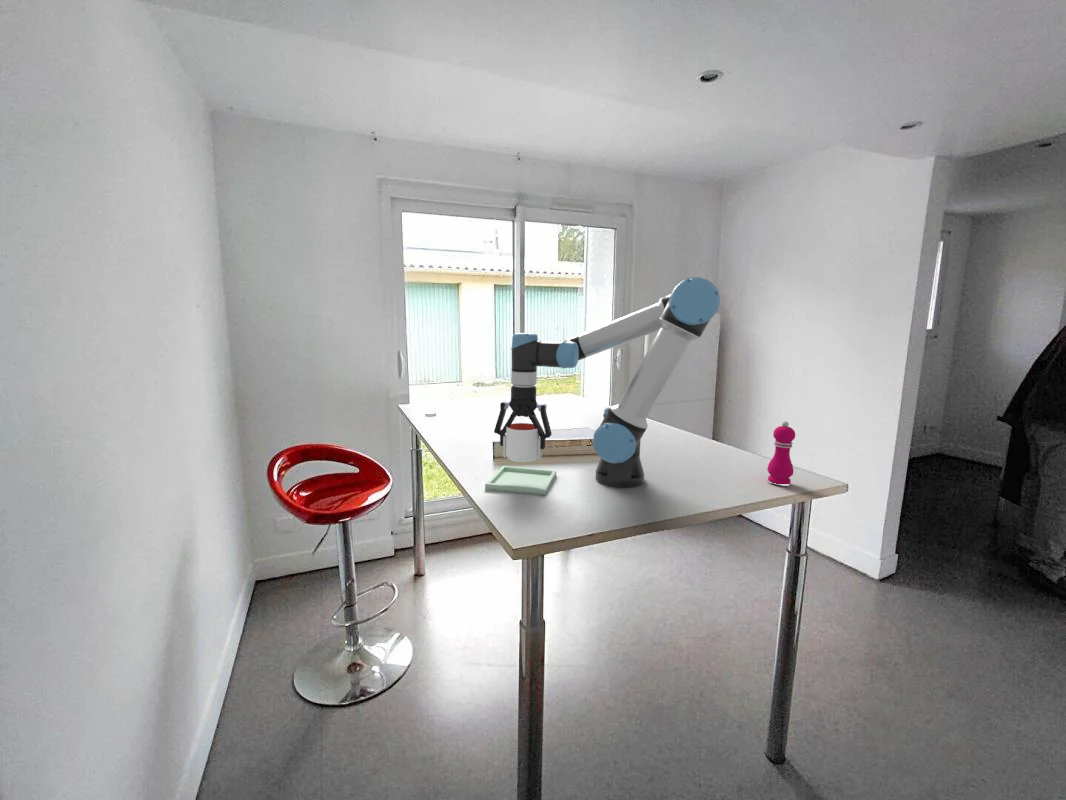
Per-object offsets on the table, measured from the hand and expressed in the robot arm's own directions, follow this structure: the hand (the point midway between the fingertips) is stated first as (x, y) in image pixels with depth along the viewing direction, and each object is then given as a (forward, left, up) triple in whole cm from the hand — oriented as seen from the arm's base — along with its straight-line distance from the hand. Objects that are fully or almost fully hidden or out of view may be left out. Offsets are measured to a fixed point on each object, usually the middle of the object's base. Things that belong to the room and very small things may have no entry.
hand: (522, 457), depth 142 cm
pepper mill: (-78, -21, -8) cm, 81 cm away
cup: (0, 0, -1) cm, 1 cm away
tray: (0, 0, -8) cm, 8 cm away
